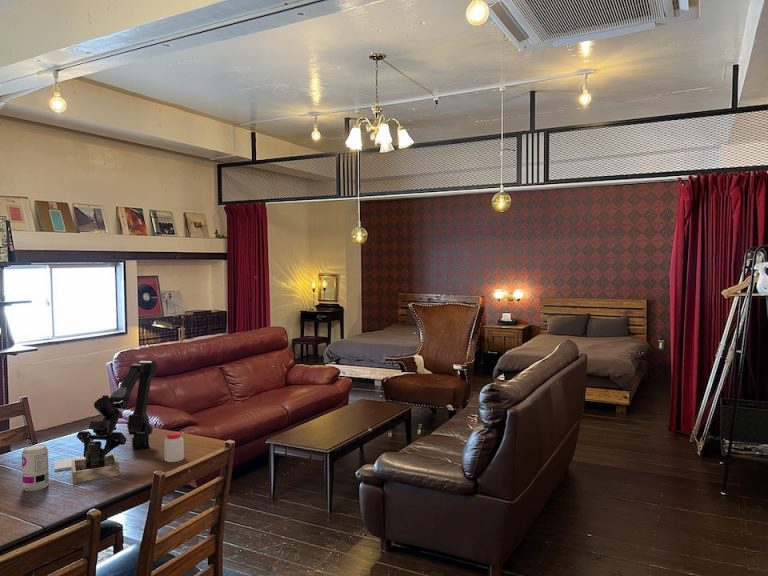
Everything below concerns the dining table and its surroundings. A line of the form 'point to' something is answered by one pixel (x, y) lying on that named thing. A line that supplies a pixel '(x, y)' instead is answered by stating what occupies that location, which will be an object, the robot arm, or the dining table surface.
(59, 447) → the dining table surface
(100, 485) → the dining table surface
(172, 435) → the pill bottle
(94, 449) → the supplement bottle
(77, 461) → the crate
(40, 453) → the supplement can
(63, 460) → the mat
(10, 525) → the dining table surface
